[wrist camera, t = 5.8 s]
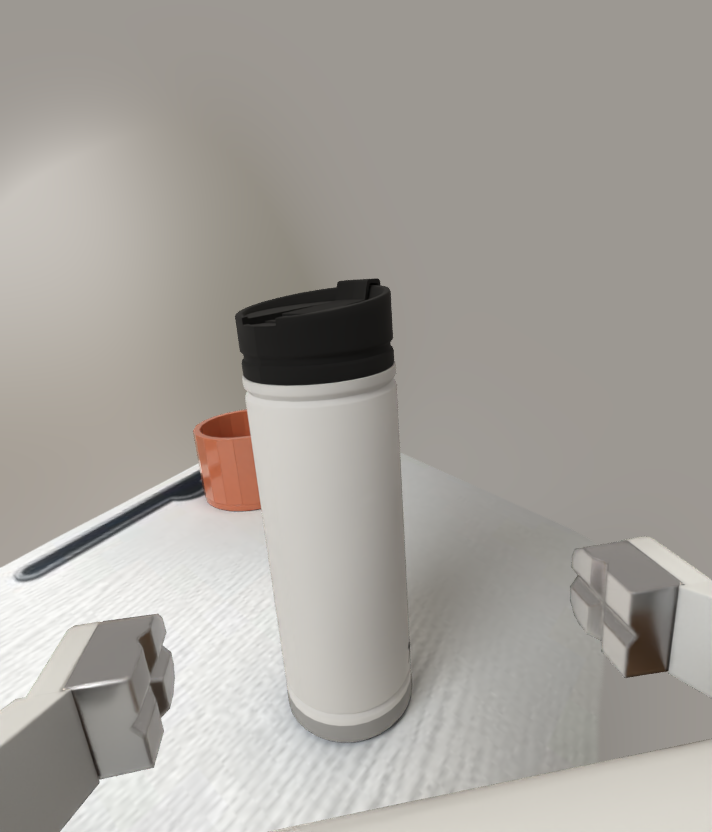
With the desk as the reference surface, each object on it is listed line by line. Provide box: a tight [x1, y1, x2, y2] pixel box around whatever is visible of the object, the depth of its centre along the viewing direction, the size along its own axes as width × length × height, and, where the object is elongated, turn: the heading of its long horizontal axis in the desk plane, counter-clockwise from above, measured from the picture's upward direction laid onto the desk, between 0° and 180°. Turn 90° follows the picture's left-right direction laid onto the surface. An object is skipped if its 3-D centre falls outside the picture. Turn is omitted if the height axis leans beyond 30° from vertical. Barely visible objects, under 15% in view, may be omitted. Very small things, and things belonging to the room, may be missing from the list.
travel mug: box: [235, 279, 412, 743], centre depth 22 cm, size 6×7×20 cm
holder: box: [193, 409, 261, 511], centre depth 48 cm, size 10×10×7 cm
